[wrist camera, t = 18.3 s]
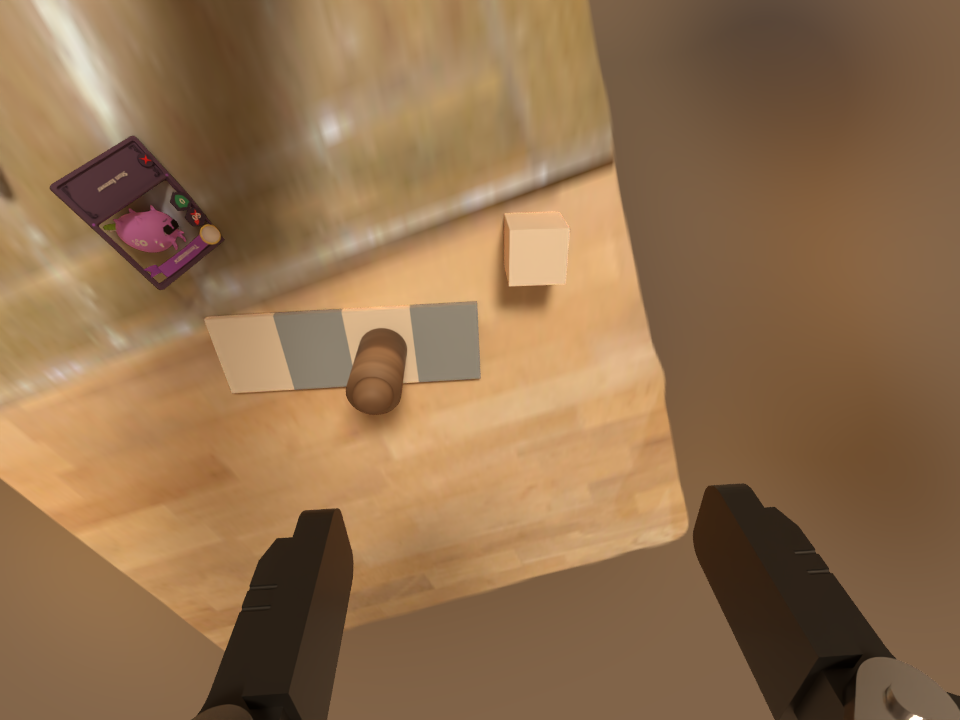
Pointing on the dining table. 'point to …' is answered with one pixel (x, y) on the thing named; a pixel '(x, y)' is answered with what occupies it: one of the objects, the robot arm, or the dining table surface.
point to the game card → (117, 185)
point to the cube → (535, 248)
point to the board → (342, 344)
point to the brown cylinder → (377, 372)
